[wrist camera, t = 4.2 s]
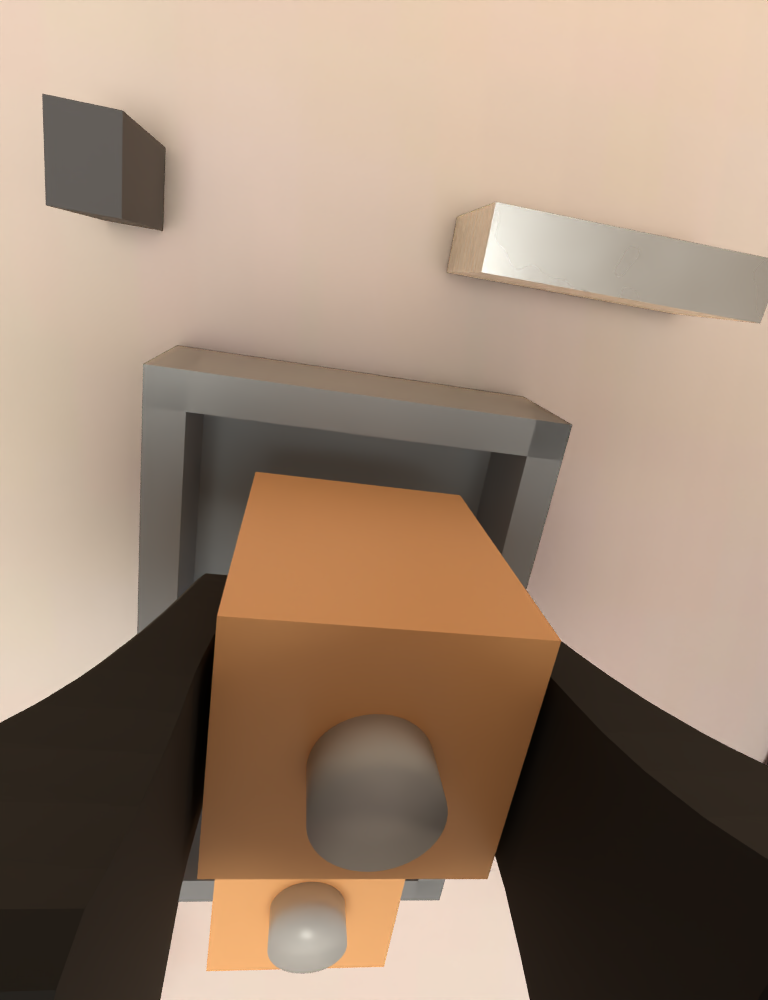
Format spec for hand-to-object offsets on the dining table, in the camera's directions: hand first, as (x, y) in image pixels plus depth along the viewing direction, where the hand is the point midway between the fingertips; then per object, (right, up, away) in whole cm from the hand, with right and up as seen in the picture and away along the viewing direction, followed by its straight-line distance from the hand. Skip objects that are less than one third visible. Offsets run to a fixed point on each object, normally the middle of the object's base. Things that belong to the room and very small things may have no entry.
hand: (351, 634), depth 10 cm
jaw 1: (0, +1, +2) cm, 2 cm away
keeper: (-5, +9, +2) cm, 10 cm away
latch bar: (+5, +8, +4) cm, 10 cm away
